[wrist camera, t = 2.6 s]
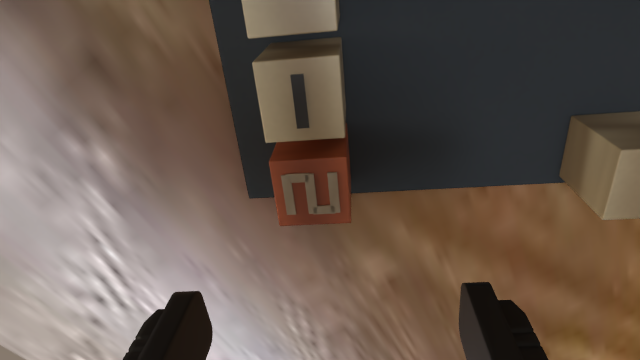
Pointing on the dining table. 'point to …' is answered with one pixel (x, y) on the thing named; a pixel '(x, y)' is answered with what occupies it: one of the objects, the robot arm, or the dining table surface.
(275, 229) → the dining table surface
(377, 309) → the dining table surface
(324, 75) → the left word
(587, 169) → the letter block row
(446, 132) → the word mat
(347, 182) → the red block
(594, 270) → the dining table surface
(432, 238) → the dining table surface
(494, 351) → the robot arm
